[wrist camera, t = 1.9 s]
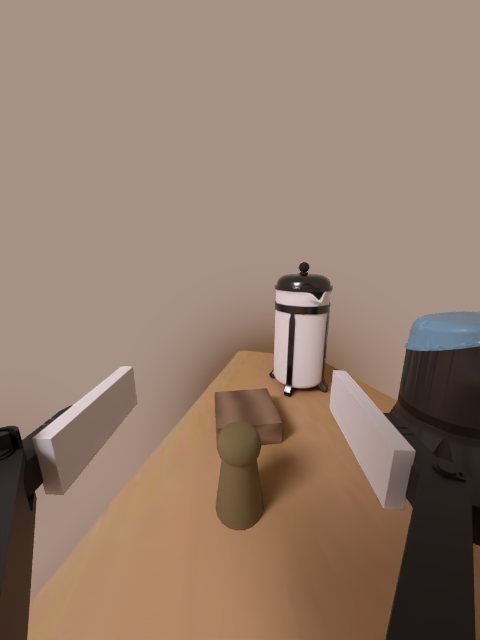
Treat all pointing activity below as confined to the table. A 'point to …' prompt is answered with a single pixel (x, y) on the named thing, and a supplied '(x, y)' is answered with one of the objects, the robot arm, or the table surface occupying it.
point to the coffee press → (301, 329)
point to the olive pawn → (239, 476)
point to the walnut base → (249, 413)
